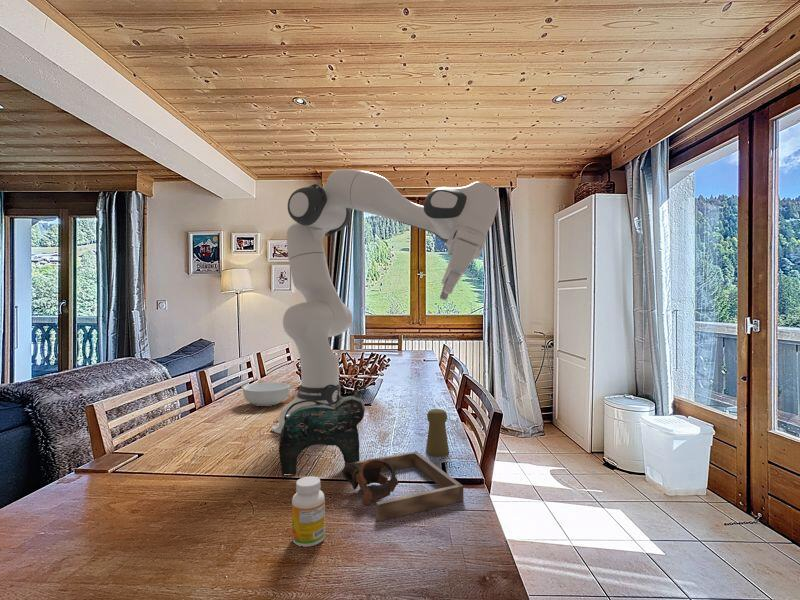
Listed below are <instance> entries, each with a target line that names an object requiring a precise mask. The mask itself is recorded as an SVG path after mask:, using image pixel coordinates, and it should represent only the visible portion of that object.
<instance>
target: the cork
mask: <svg viewBox="0 0 800 600" xmlns="http://www.w3.org/2000/svg"><path fill="white" fill-rule="evenodd" d="M426 417H427V418H426V419H427V421H428V430H427V431H428V432H427V439H426V447H425V453H426V455H429V456H431V457H444V456H447V455H449V453H450V450H449V442H448V435H447V428H446V422H447V420H448V414H447V411H445V410H444V409H440V408H432V409H430V410H428V412H427V415H426Z"/></svg>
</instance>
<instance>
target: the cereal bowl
mask: <svg viewBox="0 0 800 600" xmlns="http://www.w3.org/2000/svg"><path fill="white" fill-rule="evenodd" d="M290 391H291V386H290V384H288V383H286V382H280V381H264V382H263V381H262V382H255V383H250V384H246V385H244V386H243V388H242V393H243V398H244V400H245V401H247V403H249V404H253V405H255V406H256V405H258V406H270V407H272V406H271V405H275V406H277V405H278V404H279V403H282V402H283V401H285V400H286V399H287V398H288V397H289V394H290ZM276 404H277V405H276ZM258 406H257V407H258Z"/></svg>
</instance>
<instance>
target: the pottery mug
mask: <svg viewBox="0 0 800 600" xmlns="http://www.w3.org/2000/svg"><path fill="white" fill-rule="evenodd" d="M375 458H376V457H375ZM375 458H370V460H369V459H366V460H367V461H366V462H364V463H363V464H362V465H361V466H360V465H357V464H355V463H348V464H346V465H345V464H344V467H343V469H342V475H343V477H344V478H345V480H346V481H347V482H348V483H350V484H351V487H352V489H353V490H354V491H355V490H357V488H358V487H359V488H360V490H361V491H362V492H363V495H362V498H361V502H362V504H364V505H365V506H369V505H371V503H372V502H378V501H379V500H382V499H384V498H387V497H389V496H390V495H391V493H393V492H394V491H395V489H396V487H397V486H398V485H399V480H398V478H397V476H396V474H397V473H396V469H395V470H394V467H393V465H392V464H390V463H389V462H388V461H386V460H383V459H377V458H378V457H377V458H376V459H375ZM384 467H387V468H388V469H389V470H390V473H391V477H390V479H389V478H388V477H387V476H385V475H383V474H382V473H381V472H380V471H381V469H382V468H384ZM388 480H389V481H388ZM371 484H372V485H371ZM374 484H375V485H374ZM376 484H379V485H376ZM368 485H371V488H370V487H369V486H368Z"/></svg>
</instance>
